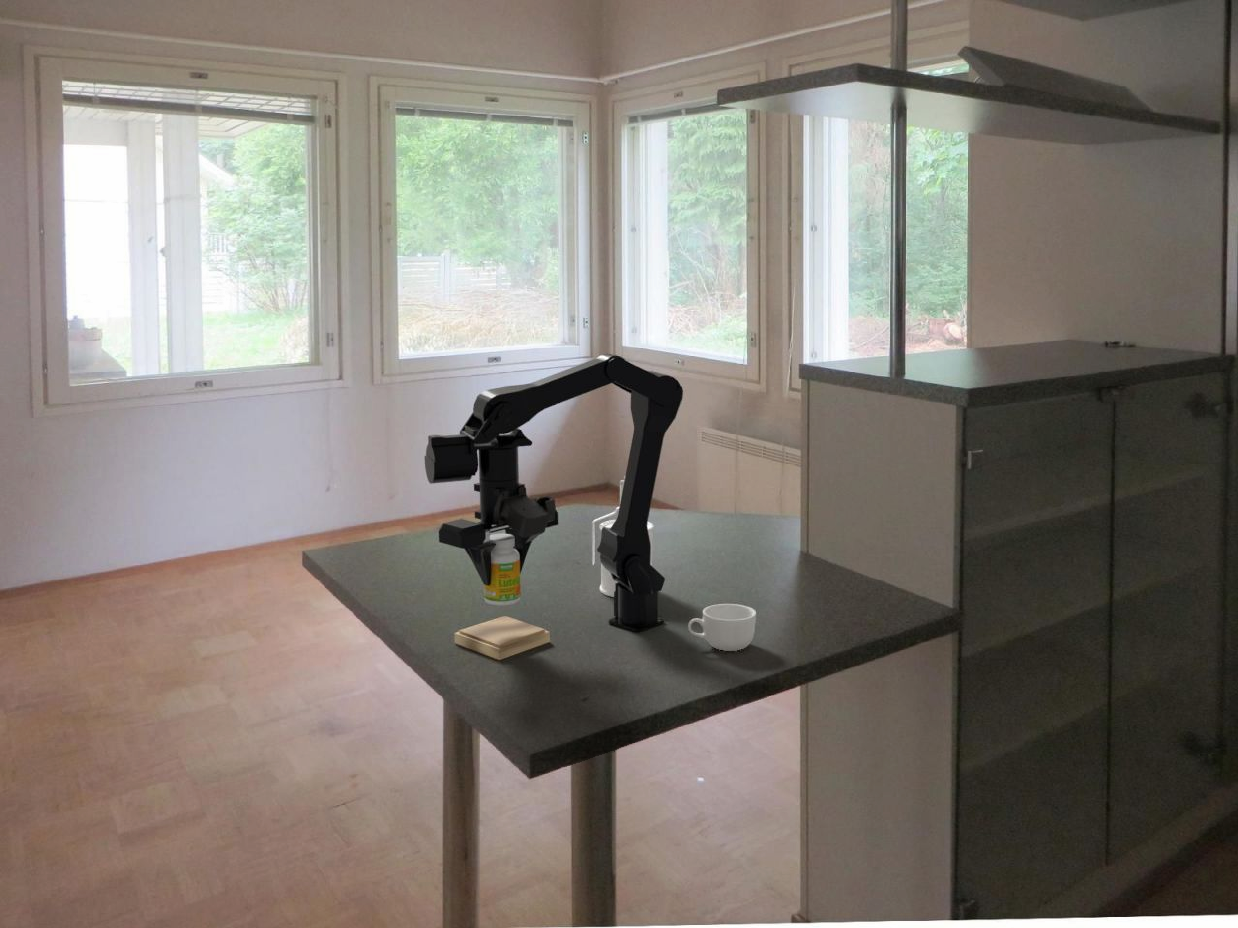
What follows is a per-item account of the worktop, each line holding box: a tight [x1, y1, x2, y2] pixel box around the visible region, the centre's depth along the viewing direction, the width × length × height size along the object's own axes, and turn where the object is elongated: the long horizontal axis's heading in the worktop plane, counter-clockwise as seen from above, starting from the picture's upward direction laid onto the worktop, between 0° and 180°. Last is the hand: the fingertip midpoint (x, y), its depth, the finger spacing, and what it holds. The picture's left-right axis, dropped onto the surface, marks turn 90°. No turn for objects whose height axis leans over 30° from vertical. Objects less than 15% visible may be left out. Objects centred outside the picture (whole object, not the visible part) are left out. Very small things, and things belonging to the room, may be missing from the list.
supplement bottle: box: [483, 533, 521, 606], centre depth 164 cm, size 5×5×10 cm
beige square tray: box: [454, 615, 551, 661], centre depth 166 cm, size 10×10×2 cm
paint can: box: [591, 476, 655, 598], centre depth 189 cm, size 10×9×20 cm
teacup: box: [687, 603, 757, 652], centre depth 164 cm, size 10×8×5 cm
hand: (501, 580), depth 164 cm, fingers closed on supplement bottle, 5 cm apart
